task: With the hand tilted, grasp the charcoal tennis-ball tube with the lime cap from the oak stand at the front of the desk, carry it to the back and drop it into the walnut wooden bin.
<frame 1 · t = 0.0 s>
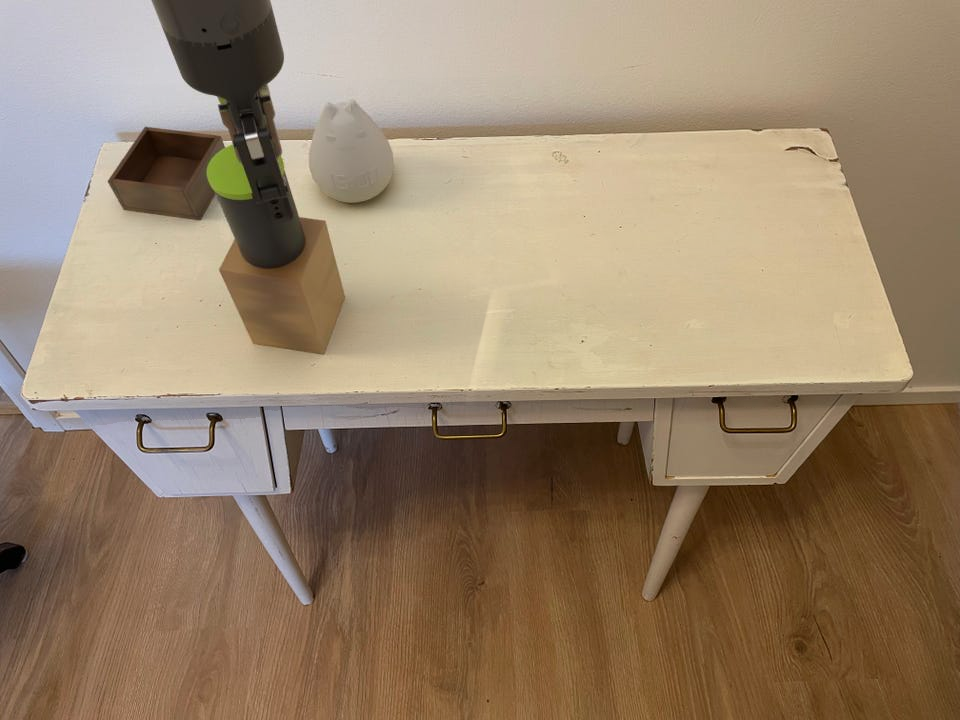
hand: (272, 185, 63), 20 cm above the table, tool pointing down, fingers open, 8 cm apart
toy character: (356, 184, 92), on the table
stand: (300, 319, 80), on the table
bin: (178, 186, 92), on the table
ball tube: (273, 243, 70), point 12 cm above the table, touching gripper, stand
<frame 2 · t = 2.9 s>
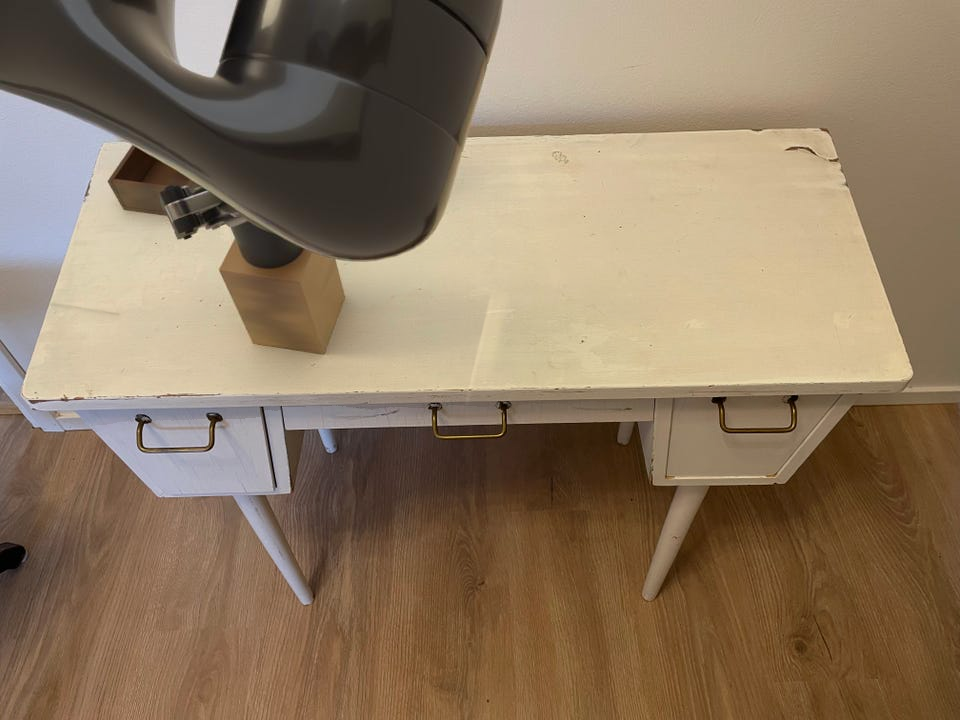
hand: (272, 189, 51), 28 cm above the table, tool tilted 45°, fingers open, 8 cm apart
ball tube: (273, 244, 70), point 12 cm above the table, touching stand
everything else where it was.
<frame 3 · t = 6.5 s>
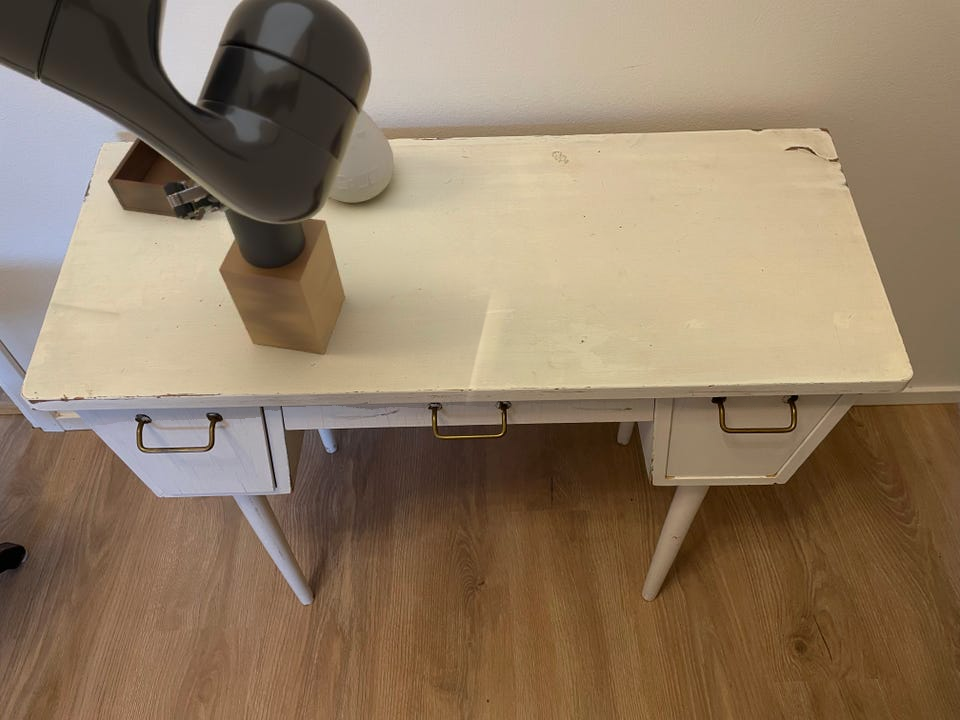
hand: (250, 185, 66), 18 cm above the table, tool tilted 45°, fingers closed on ball tube, 6 cm apart
ball tube: (273, 244, 70), point 12 cm above the table, touching gripper, stand
everything else where it was.
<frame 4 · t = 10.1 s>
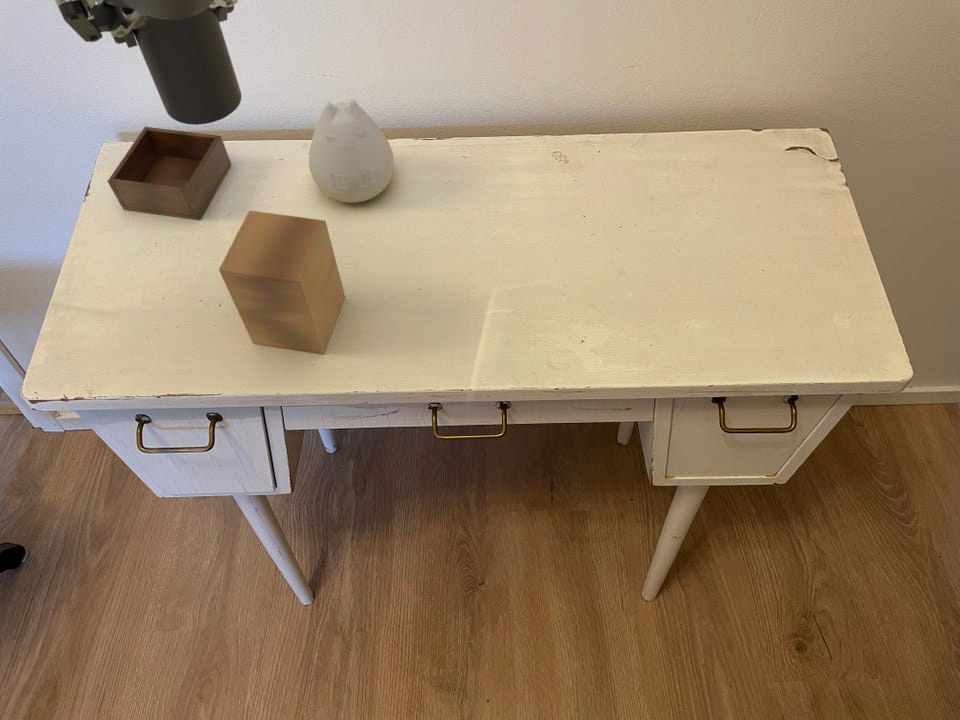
hand: (172, 20, 56), 32 cm above the table, tool tilted 45°, fingers closed on ball tube, 6 cm apart
ball tube: (203, 100, 60), point 26 cm above the table, touching gripper
everything else where it was.
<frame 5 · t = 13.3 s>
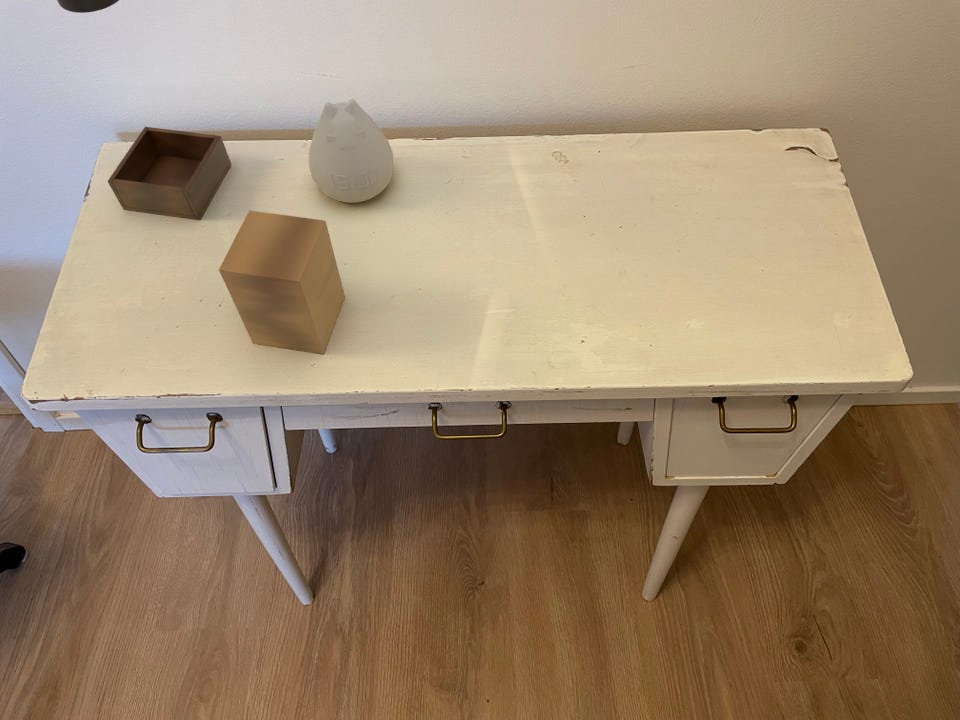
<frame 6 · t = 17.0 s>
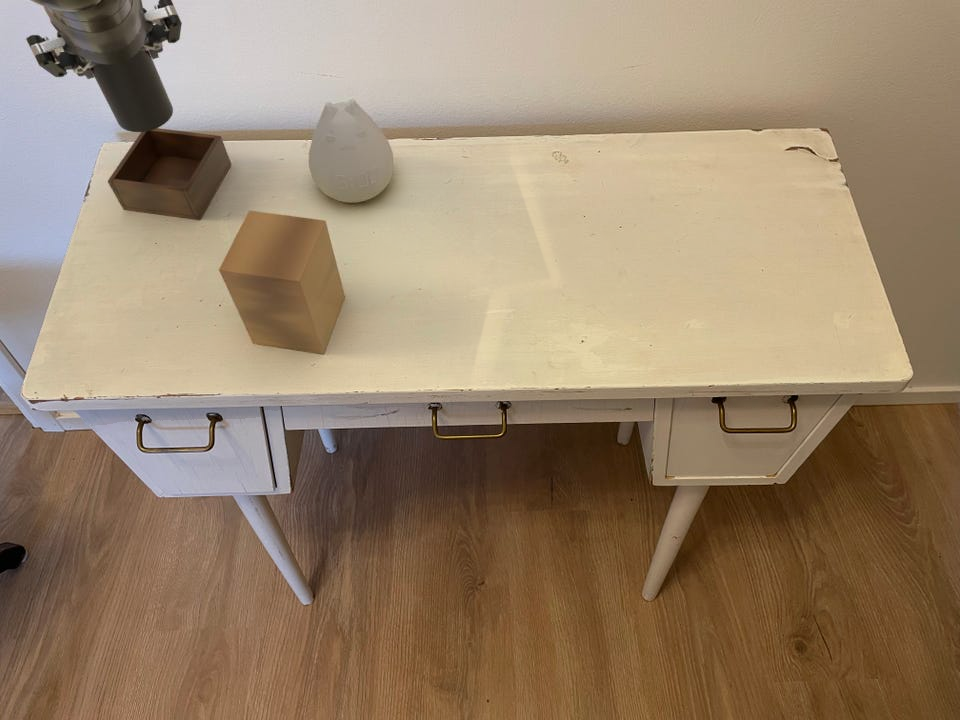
hand: (119, 59, 79), 17 cm above the table, tool tilted 45°, fingers closed on ball tube, 6 cm apart
ball tube: (145, 114, 83), point 11 cm above the table, touching gripper
everything else where it was.
when the fingers open (7 cm above the table, at t = 20.3 s): ball tube stays where it is, resting on bin.
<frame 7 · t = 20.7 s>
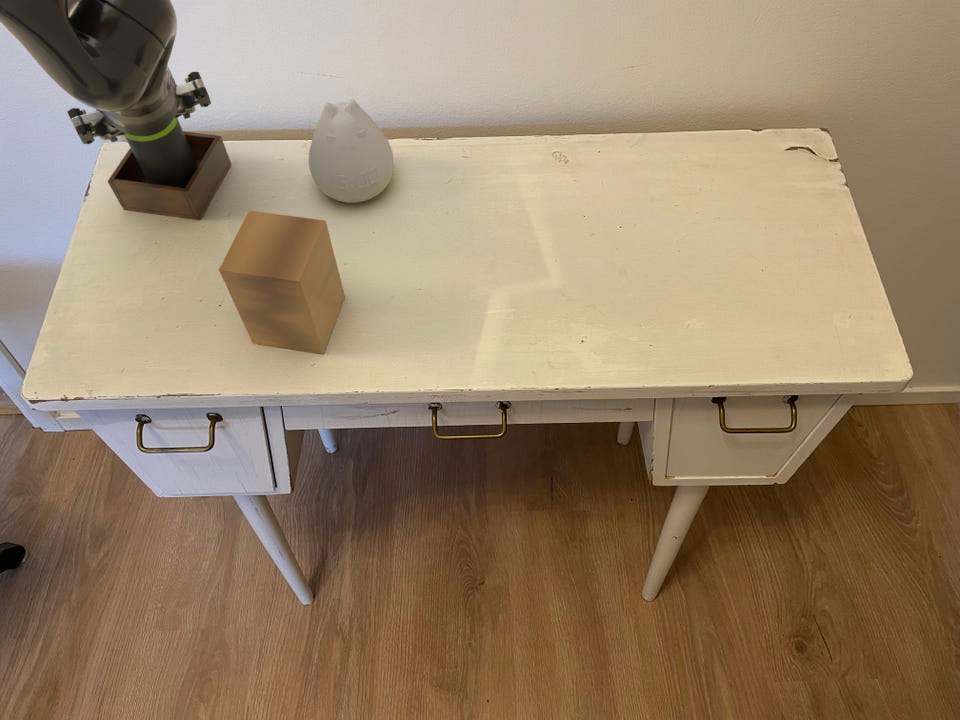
hand: (147, 121, 85), 9 cm above the table, tool tilted 45°, fingers open, 8 cm apart
ball tube: (177, 183, 91), point 1 cm above the table, touching bin
everything else where it was.
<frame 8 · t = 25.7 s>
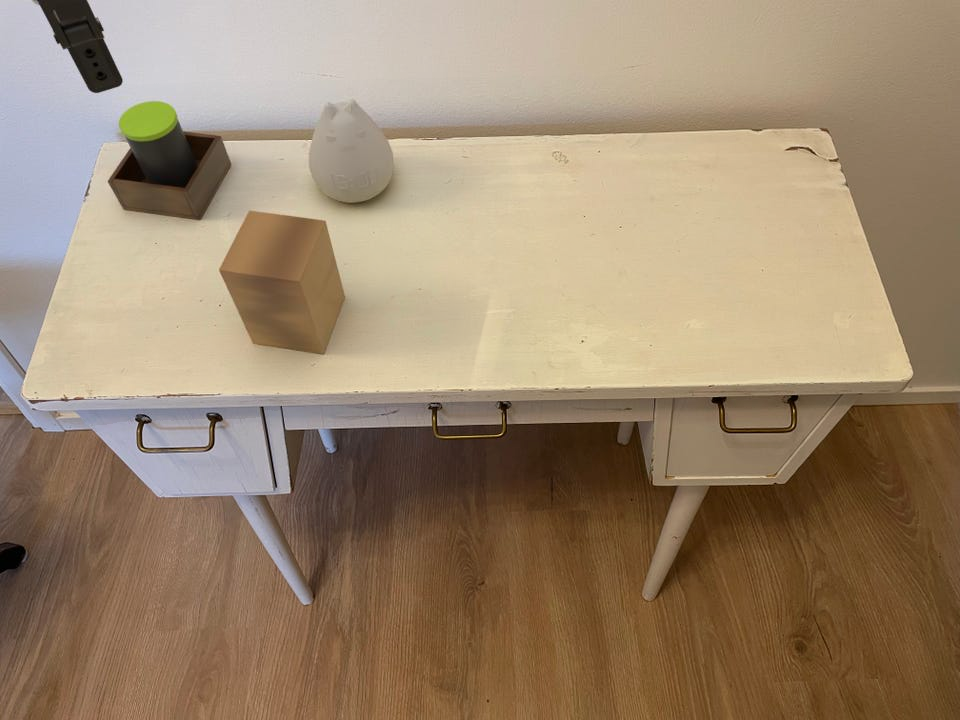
hand: (92, 53, 50), 34 cm above the table, tool pointing down, fingers open, 8 cm apart
nothing on the table moved.
at the end: ball tube inside the target area in the bin (0.1 cm from its centre), point 0.6 cm above the bin's base; the gripper is holding nothing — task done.
